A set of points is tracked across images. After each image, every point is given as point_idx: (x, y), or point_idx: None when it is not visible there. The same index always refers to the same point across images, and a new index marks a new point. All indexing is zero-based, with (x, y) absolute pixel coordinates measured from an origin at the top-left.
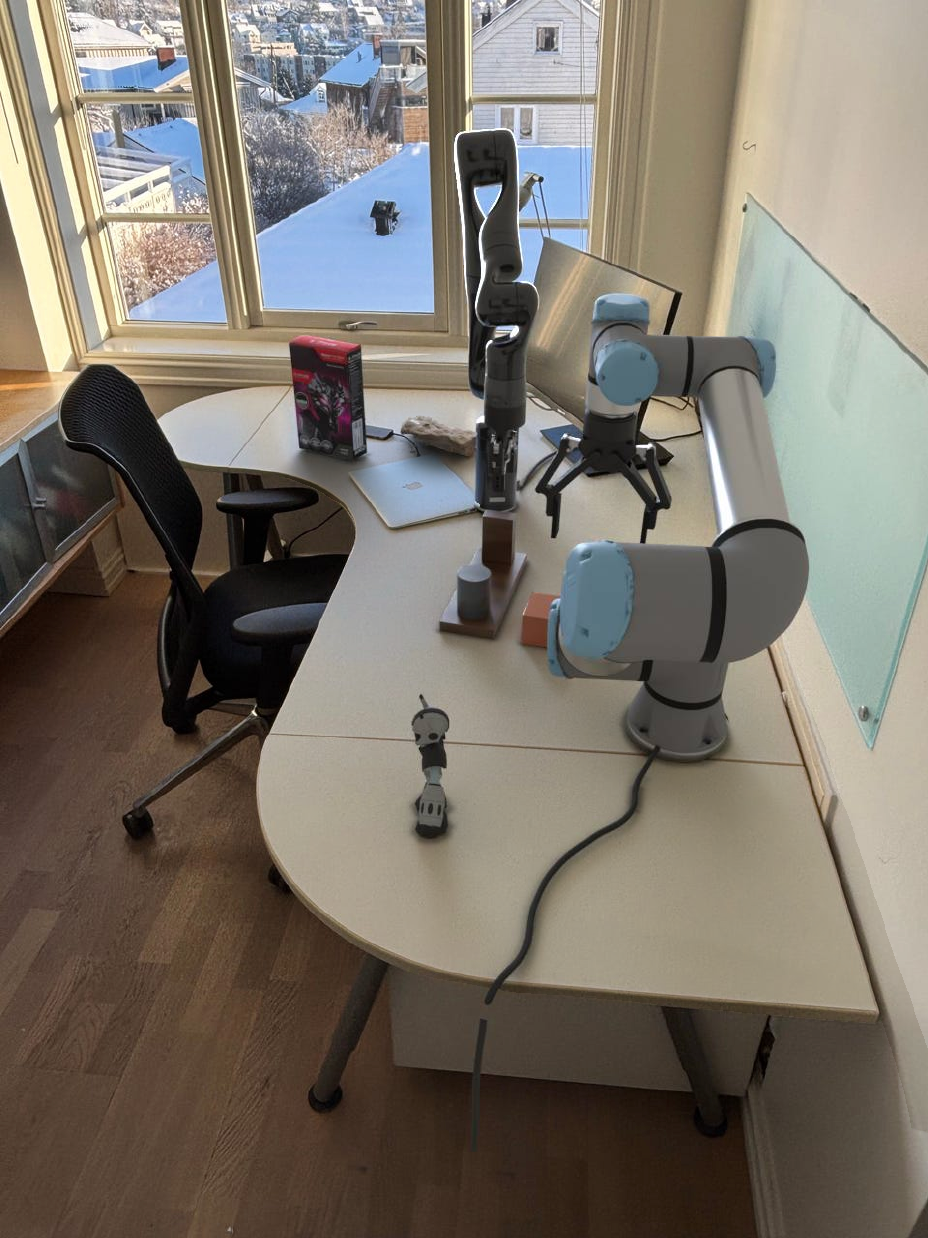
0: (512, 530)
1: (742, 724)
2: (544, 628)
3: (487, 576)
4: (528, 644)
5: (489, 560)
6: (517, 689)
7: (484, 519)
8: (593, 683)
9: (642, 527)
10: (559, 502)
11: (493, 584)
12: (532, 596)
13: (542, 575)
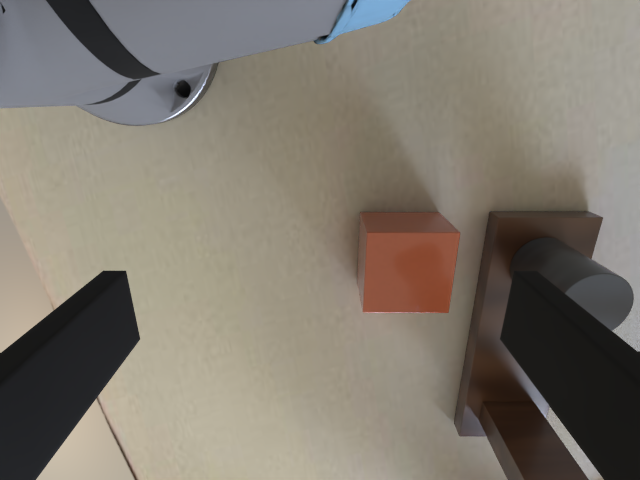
0: (515, 462)
1: None
2: (409, 224)
3: None
4: (426, 212)
5: (522, 404)
6: (431, 71)
7: (583, 477)
8: (298, 131)
9: (40, 342)
10: (635, 448)
11: None
12: (446, 298)
13: (424, 397)
